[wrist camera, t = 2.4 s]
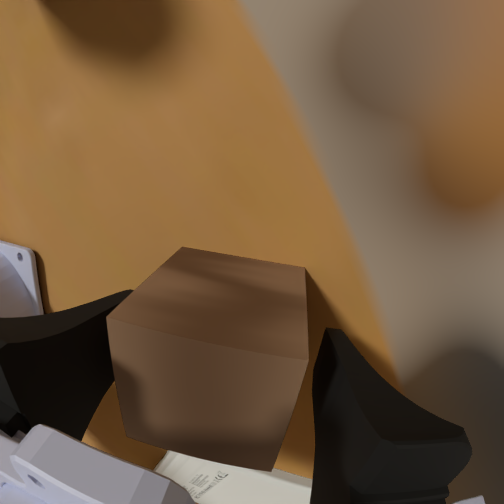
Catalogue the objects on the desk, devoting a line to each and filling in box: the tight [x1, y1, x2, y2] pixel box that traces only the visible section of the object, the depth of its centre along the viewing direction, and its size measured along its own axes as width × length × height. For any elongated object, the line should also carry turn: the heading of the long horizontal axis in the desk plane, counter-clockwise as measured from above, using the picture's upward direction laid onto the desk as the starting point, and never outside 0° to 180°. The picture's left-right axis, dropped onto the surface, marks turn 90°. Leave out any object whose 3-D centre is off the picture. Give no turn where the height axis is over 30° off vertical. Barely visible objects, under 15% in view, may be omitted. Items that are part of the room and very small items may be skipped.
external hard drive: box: [153, 450, 313, 504], centre depth 18 cm, size 2×8×12 cm
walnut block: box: [106, 247, 309, 472], centre depth 11 cm, size 5×5×6 cm
